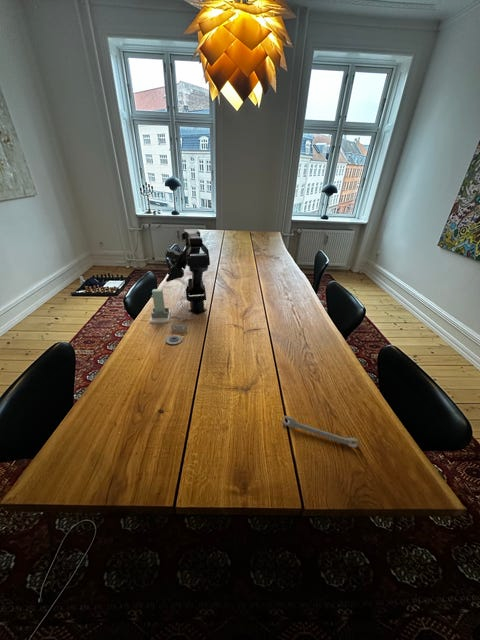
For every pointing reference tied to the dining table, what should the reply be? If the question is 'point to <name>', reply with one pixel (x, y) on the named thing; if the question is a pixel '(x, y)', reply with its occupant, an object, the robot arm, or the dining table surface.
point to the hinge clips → (160, 316)
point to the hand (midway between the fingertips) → (167, 277)
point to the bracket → (177, 339)
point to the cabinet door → (158, 300)
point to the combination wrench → (319, 432)
